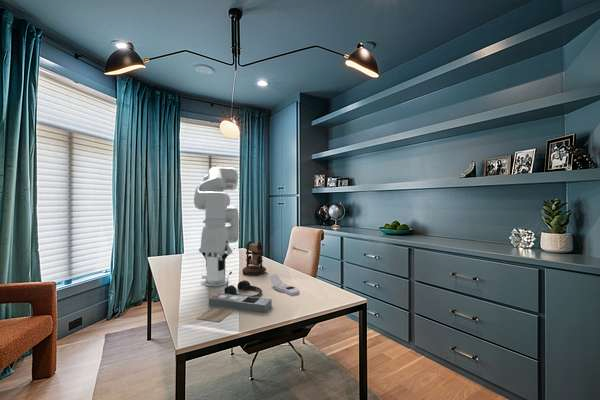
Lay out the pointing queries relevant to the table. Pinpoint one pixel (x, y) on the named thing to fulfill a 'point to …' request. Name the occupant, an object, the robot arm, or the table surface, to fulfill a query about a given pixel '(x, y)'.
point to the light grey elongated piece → (282, 286)
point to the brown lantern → (254, 259)
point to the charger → (214, 268)
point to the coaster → (214, 315)
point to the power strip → (240, 302)
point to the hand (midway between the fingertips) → (215, 269)
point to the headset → (242, 288)
